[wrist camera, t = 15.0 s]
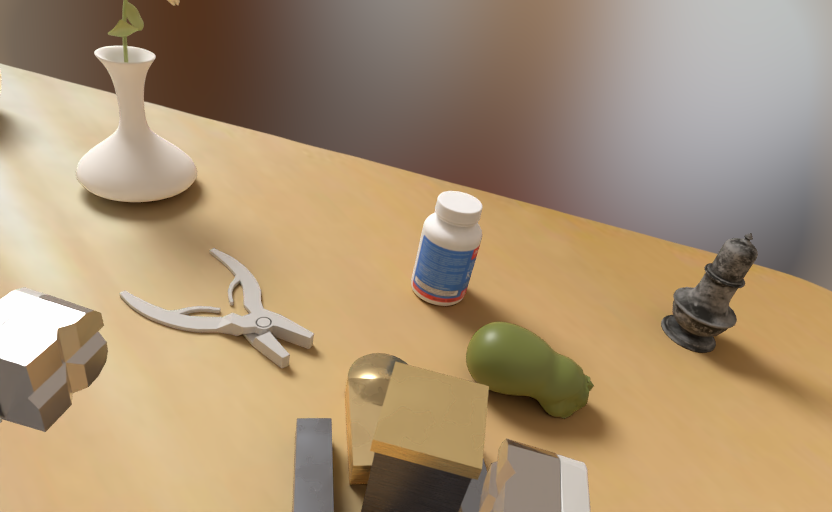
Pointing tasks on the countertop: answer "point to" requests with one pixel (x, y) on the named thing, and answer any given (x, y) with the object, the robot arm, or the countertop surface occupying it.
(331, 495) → the grey metal bars
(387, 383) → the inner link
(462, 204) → the pill bottle
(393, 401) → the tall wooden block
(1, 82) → the lidded jar
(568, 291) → the countertop surface
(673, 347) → the countertop surface
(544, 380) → the pear
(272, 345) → the pliers
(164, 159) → the flower in vase
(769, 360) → the countertop surface
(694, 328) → the salt shaker
